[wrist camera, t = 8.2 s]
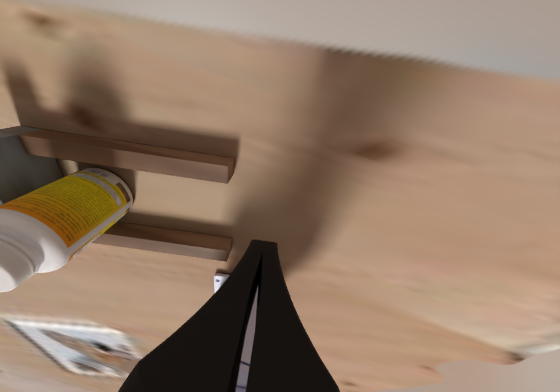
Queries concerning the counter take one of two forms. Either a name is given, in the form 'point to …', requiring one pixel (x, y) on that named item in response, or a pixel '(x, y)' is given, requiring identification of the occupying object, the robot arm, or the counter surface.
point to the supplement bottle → (58, 222)
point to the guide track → (52, 144)
